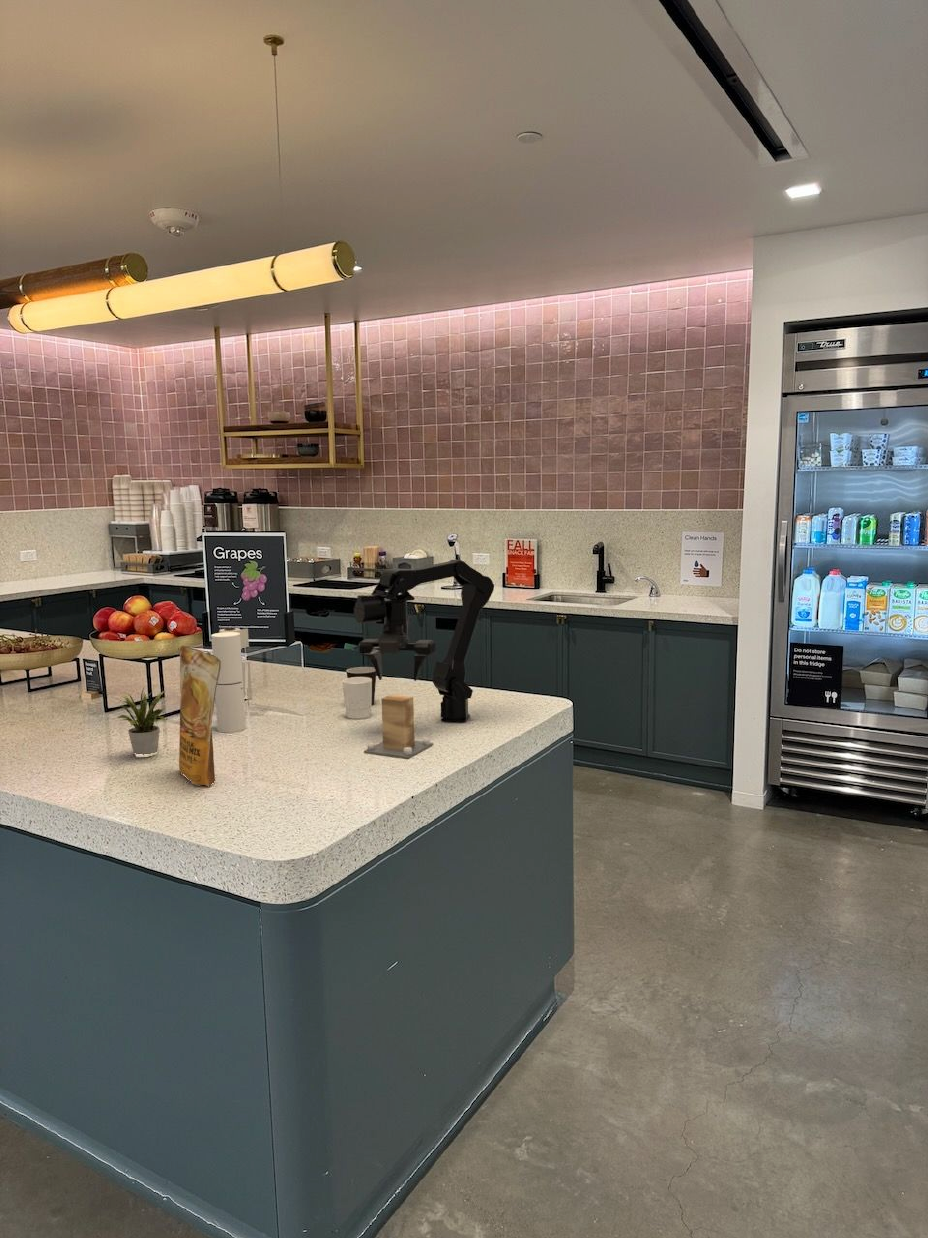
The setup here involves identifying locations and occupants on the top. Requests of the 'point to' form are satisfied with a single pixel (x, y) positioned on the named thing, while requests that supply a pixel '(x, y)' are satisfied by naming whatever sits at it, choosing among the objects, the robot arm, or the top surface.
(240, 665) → the cylindrical container
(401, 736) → the wooden block
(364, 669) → the coffee mug
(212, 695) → the pancake mix bag
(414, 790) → the top surface
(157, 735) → the house plant
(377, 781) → the top surface
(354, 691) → the white cup
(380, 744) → the peg plate
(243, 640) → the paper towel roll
